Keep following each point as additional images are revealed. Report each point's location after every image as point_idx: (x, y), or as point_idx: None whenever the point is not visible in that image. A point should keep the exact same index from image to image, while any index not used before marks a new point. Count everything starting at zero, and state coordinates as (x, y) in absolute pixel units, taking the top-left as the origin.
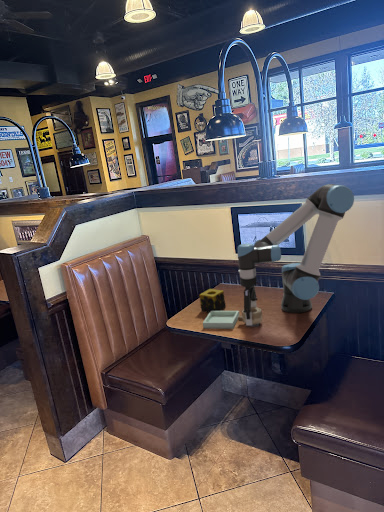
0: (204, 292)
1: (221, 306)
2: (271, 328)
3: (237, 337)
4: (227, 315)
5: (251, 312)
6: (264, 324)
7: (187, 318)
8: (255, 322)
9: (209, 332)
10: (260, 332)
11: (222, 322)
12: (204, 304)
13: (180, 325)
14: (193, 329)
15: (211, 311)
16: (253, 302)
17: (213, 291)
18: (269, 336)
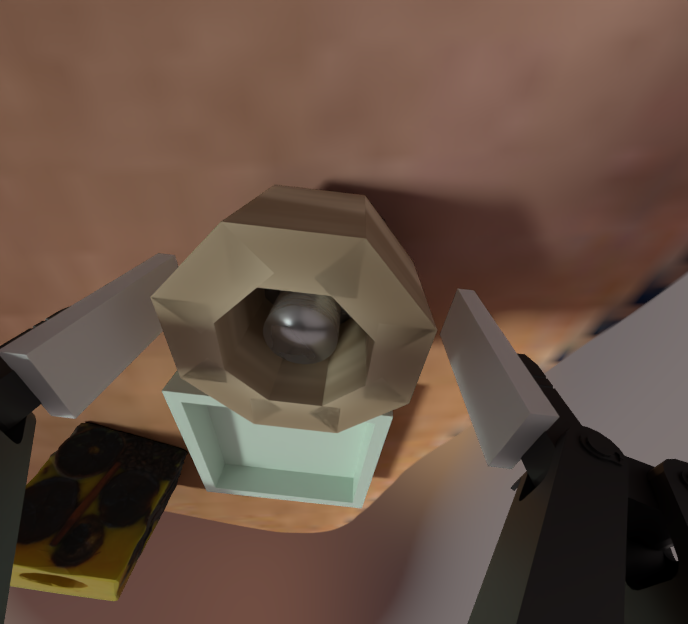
0: (71, 593)
1: (110, 451)
2: (456, 46)
3: (533, 355)
4: (210, 417)
5: (299, 340)
6: (329, 153)
7: (259, 508)
8: (409, 261)
9: (411, 458)
10: (518, 191)
11: (373, 455)
12: (154, 520)
13: (325, 518)
14: (367, 494)
15: (215, 490)
16: (67, 371)
17: (21, 575)
18: (683, 69)
